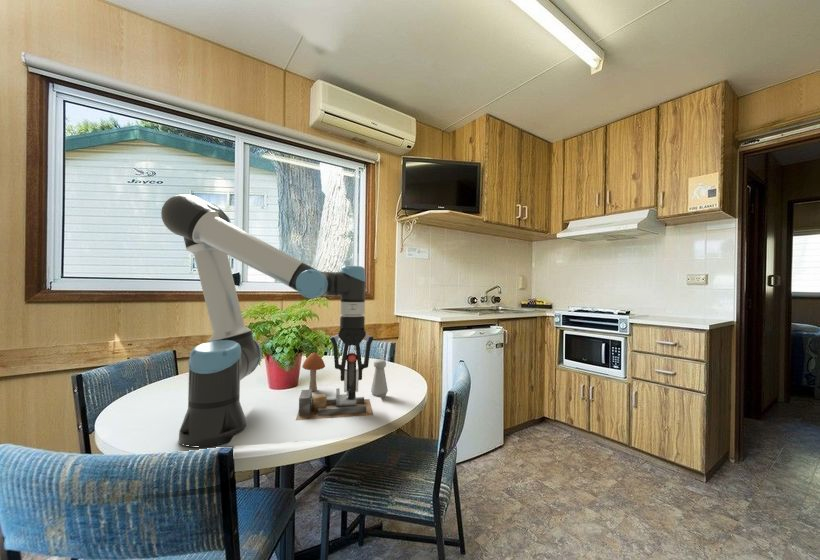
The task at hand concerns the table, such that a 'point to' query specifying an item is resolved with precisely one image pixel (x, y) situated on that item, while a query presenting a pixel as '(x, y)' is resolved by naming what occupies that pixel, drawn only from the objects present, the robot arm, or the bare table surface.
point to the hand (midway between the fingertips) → (351, 390)
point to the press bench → (331, 408)
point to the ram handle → (348, 384)
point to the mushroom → (313, 368)
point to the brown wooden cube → (319, 402)
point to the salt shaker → (379, 379)
